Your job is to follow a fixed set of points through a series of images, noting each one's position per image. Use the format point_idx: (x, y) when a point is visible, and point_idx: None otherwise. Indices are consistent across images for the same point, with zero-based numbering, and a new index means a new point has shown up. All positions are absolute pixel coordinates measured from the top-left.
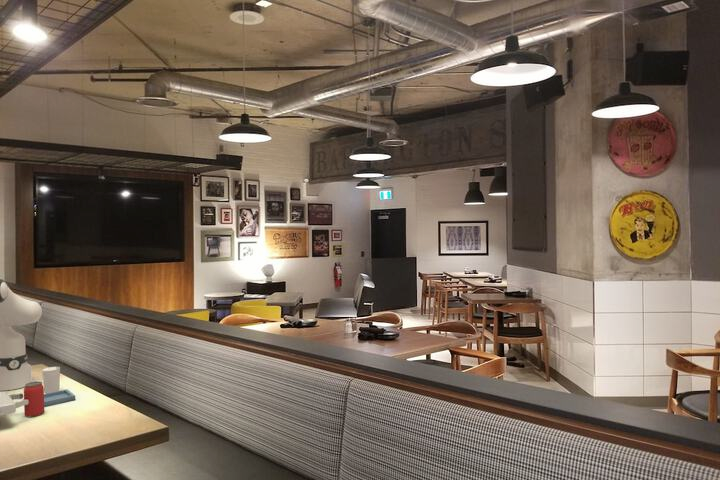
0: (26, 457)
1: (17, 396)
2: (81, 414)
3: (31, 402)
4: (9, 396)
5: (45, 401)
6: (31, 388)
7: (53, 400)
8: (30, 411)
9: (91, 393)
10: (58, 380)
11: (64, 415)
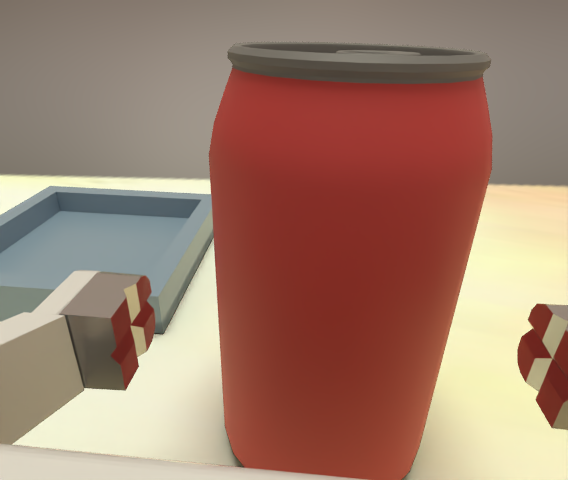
0: None
1: (86, 348)
2: (540, 262)
3: (450, 325)
4: (244, 473)
5: (160, 279)
6: (488, 110)
7: (186, 254)
8: (420, 428)
9: (185, 183)
10: None
11: (511, 307)
